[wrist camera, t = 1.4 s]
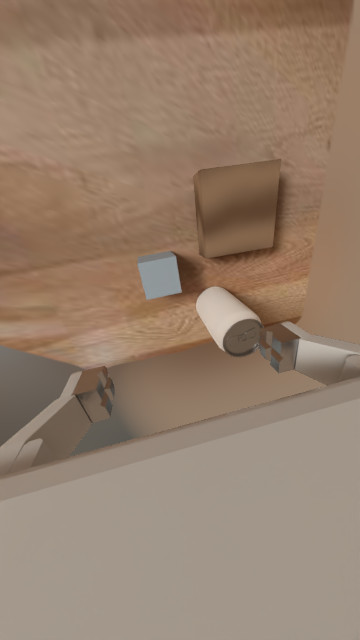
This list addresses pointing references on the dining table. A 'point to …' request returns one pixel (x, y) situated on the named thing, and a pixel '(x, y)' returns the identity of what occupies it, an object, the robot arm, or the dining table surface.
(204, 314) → the can
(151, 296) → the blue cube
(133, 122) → the dining table surface
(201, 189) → the walnut block
